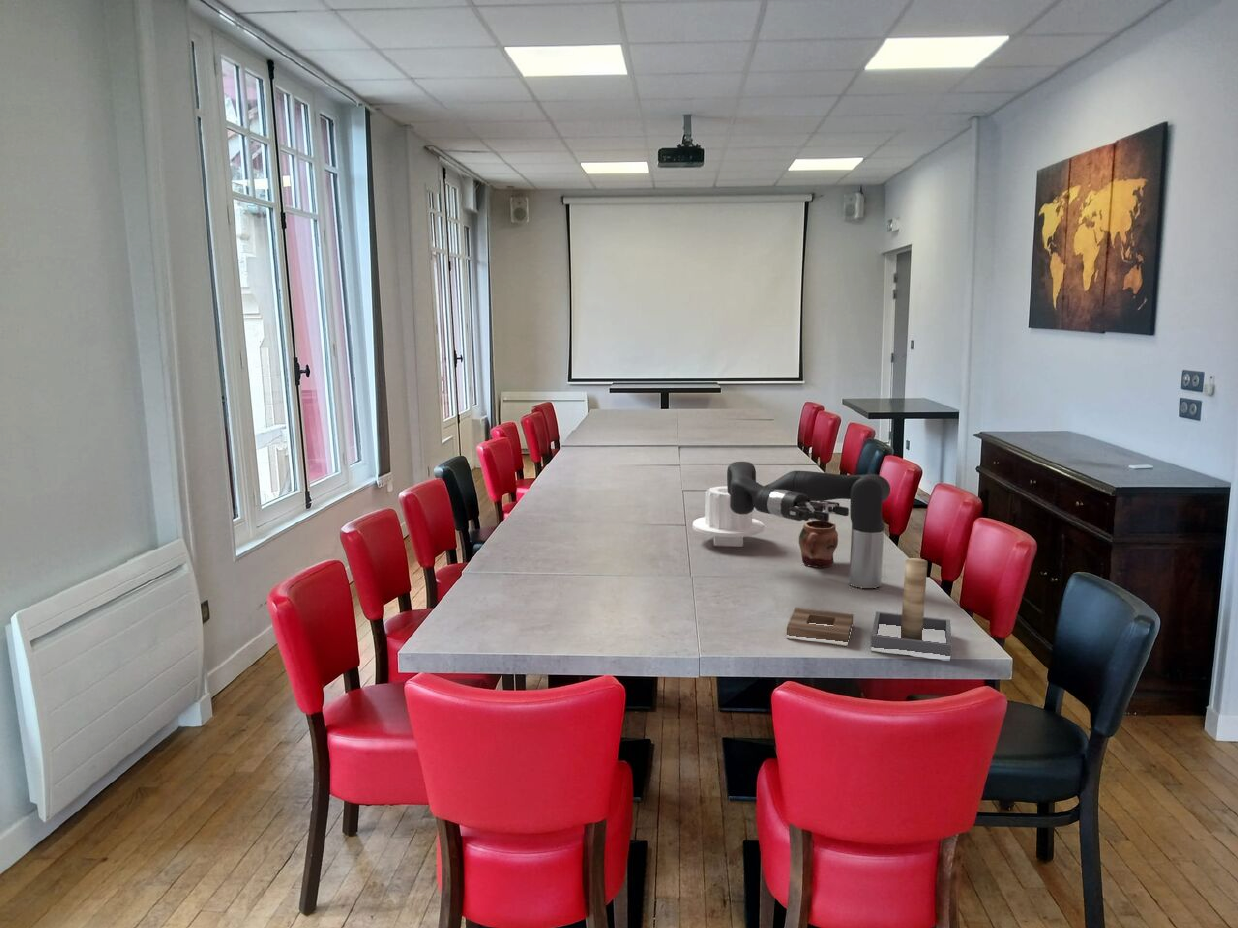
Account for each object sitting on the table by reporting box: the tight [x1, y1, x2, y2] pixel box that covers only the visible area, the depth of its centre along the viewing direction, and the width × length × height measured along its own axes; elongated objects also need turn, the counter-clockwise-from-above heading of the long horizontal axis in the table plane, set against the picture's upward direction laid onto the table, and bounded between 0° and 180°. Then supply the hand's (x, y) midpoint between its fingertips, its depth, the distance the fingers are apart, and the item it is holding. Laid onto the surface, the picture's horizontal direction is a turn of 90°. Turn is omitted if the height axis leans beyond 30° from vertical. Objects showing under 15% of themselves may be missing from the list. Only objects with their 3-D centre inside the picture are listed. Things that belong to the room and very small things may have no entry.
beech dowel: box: [901, 557, 928, 640], centre depth 210 cm, size 5×5×20 cm
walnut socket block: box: [786, 607, 855, 642], centre depth 219 cm, size 15×15×3 cm
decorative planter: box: [798, 520, 839, 568], centre depth 275 cm, size 20×12×14 cm, turn 154°
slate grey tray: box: [870, 610, 952, 657], centre depth 212 cm, size 18×18×4 cm
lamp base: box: [692, 485, 765, 548], centre depth 301 cm, size 25×25×19 cm
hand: (838, 514), depth 220 cm, fingers open, 8 cm apart
